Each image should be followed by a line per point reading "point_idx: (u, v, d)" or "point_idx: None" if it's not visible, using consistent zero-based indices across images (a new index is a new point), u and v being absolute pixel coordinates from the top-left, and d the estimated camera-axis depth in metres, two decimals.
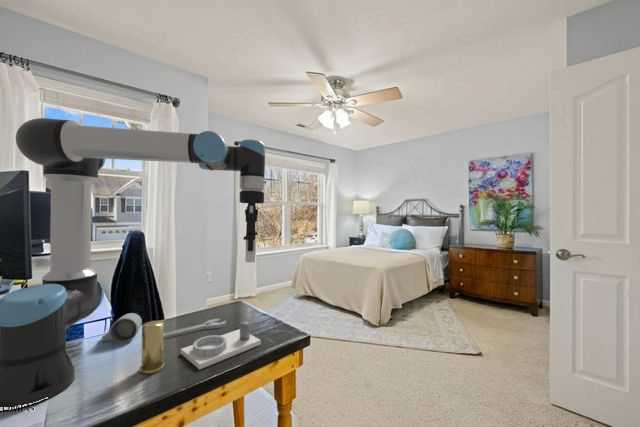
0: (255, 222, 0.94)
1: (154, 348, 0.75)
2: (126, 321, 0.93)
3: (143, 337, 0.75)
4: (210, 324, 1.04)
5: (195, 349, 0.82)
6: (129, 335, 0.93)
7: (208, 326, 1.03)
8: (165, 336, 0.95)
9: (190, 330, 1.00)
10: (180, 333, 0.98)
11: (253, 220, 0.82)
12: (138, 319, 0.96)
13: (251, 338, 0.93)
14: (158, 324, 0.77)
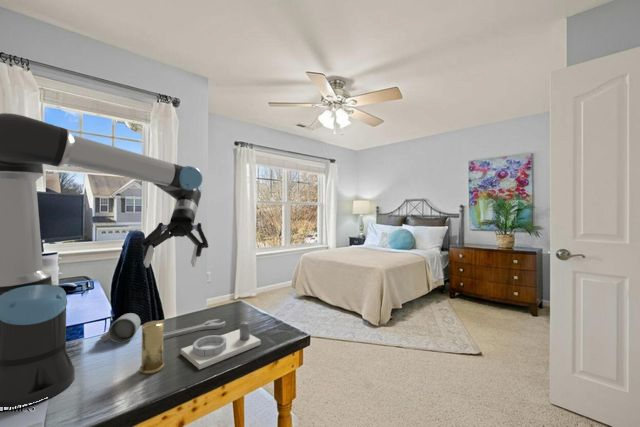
0: None
1: (154, 348, 0.75)
2: (125, 321, 0.93)
3: (143, 337, 0.75)
4: (209, 324, 1.04)
5: (195, 349, 0.82)
6: (128, 335, 0.93)
7: (207, 326, 1.03)
8: (164, 336, 0.95)
9: (189, 330, 0.99)
10: (179, 333, 0.97)
11: None
12: (137, 319, 0.96)
13: (251, 338, 0.93)
14: (158, 324, 0.77)
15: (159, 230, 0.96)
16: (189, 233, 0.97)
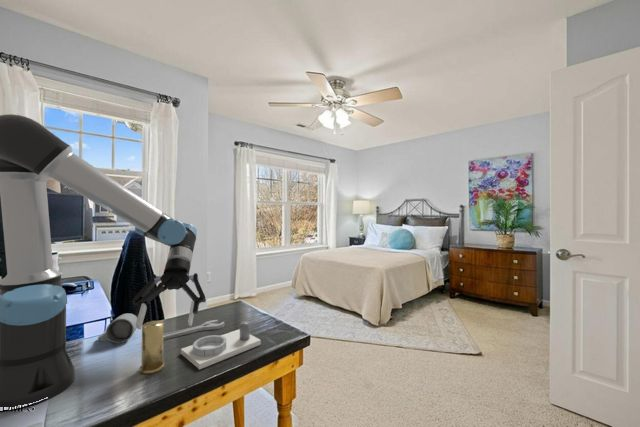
0: (160, 292, 0.90)
1: (154, 348, 0.75)
2: (122, 321, 0.93)
3: (143, 337, 0.75)
4: (208, 325, 1.03)
5: (195, 349, 0.82)
6: (125, 335, 0.93)
7: (206, 327, 1.02)
8: (163, 338, 0.94)
9: (188, 331, 0.99)
10: (178, 335, 0.97)
11: None
12: (134, 319, 0.96)
13: (251, 338, 0.93)
14: (158, 324, 0.77)
15: (152, 283, 0.89)
16: (185, 286, 0.90)
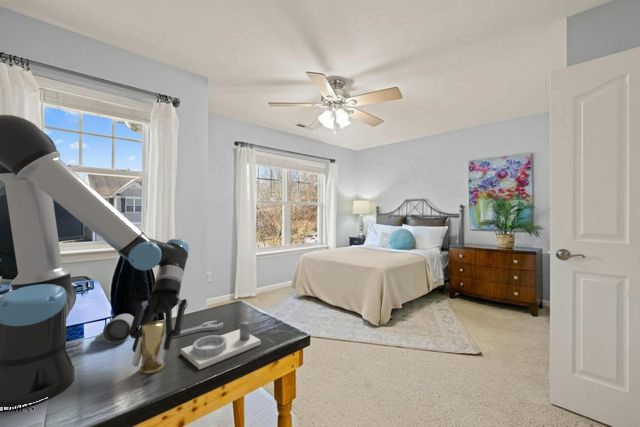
0: (153, 318, 0.82)
1: (154, 348, 0.75)
2: (119, 322, 0.92)
3: (143, 337, 0.75)
4: (207, 326, 1.02)
5: (195, 349, 0.82)
6: (122, 336, 0.92)
7: (205, 328, 1.01)
8: None
9: (186, 332, 0.98)
10: (176, 335, 0.96)
11: (182, 316, 0.84)
12: (132, 319, 0.95)
13: (251, 338, 0.93)
14: (158, 324, 0.77)
15: (141, 310, 0.82)
16: (167, 313, 0.82)
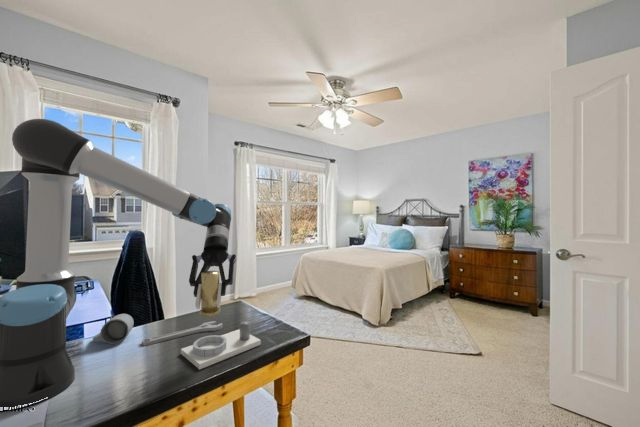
0: (207, 270, 0.90)
1: (213, 293, 0.83)
2: (117, 322, 0.92)
3: (203, 283, 0.83)
4: (206, 327, 1.02)
5: (195, 349, 0.82)
6: (120, 336, 0.92)
7: (204, 329, 1.01)
8: (159, 339, 0.92)
9: (185, 333, 0.97)
10: (175, 336, 0.95)
11: (233, 269, 0.92)
12: (129, 320, 0.95)
13: (251, 338, 0.93)
14: (215, 272, 0.85)
15: (197, 263, 0.90)
16: (220, 265, 0.90)
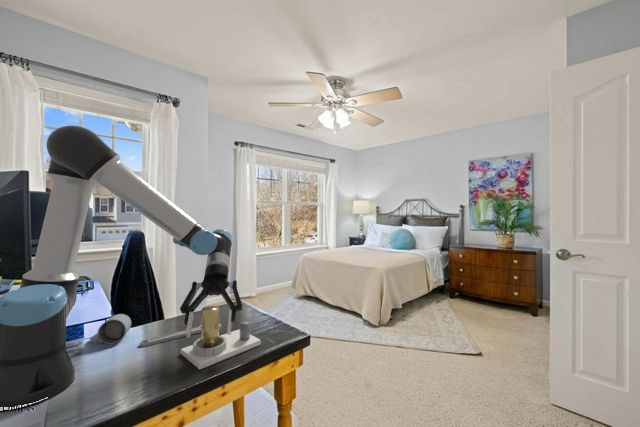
0: (203, 299, 0.91)
1: (213, 329, 0.84)
2: (115, 322, 0.92)
3: (203, 319, 0.83)
4: None
5: (195, 349, 0.82)
6: (118, 336, 0.92)
7: None
8: (158, 340, 0.92)
9: (184, 334, 0.97)
10: (174, 337, 0.95)
11: None
12: (127, 320, 0.95)
13: (251, 338, 0.93)
14: (215, 308, 0.85)
15: (194, 290, 0.90)
16: (224, 293, 0.91)
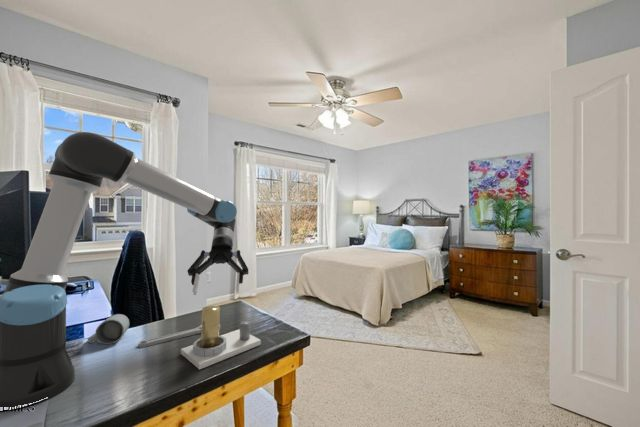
0: None
1: (213, 329, 0.84)
2: (112, 322, 0.92)
3: (203, 319, 0.83)
4: None
5: (195, 349, 0.82)
6: (115, 336, 0.92)
7: None
8: (156, 341, 0.91)
9: (183, 335, 0.96)
10: (172, 338, 0.94)
11: None
12: (125, 320, 0.95)
13: (251, 338, 0.93)
14: (215, 308, 0.85)
15: (202, 258, 1.03)
16: (230, 260, 1.03)
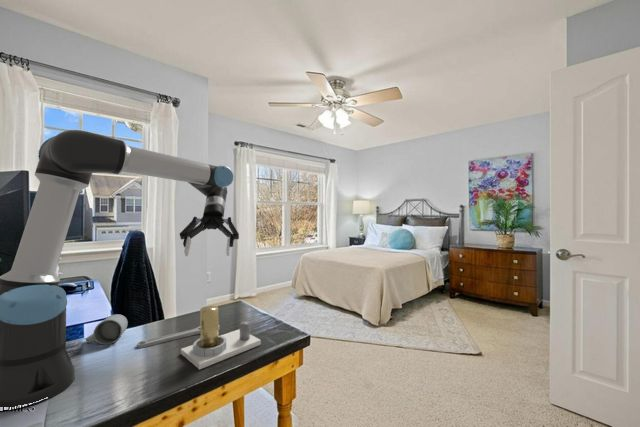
0: None
1: (212, 329, 0.83)
2: (111, 322, 0.92)
3: (202, 320, 0.83)
4: None
5: (195, 349, 0.82)
6: (114, 337, 0.92)
7: None
8: (155, 342, 0.91)
9: (182, 335, 0.96)
10: (171, 338, 0.94)
11: None
12: (123, 320, 0.95)
13: (251, 338, 0.93)
14: (214, 308, 0.85)
15: (194, 223, 1.06)
16: (221, 226, 1.07)
